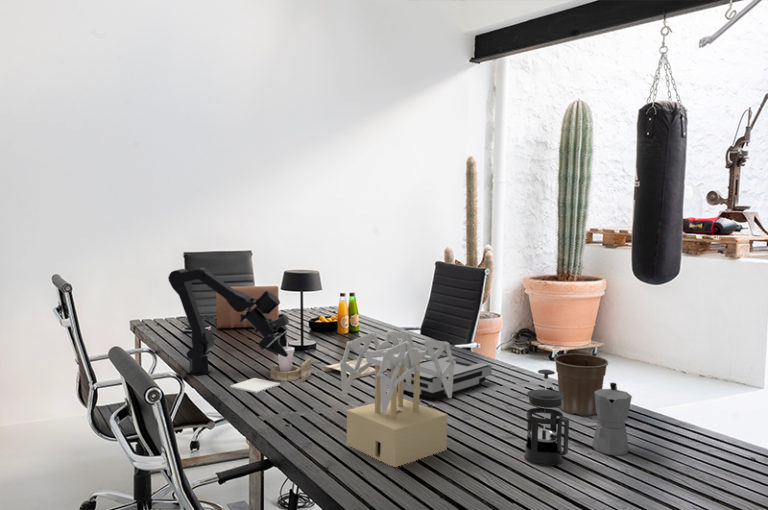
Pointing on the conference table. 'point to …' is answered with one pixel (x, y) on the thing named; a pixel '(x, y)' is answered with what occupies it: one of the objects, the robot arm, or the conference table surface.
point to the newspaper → (366, 372)
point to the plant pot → (579, 381)
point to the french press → (541, 440)
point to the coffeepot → (611, 421)
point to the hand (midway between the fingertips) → (289, 353)
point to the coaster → (254, 385)
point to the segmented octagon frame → (293, 372)
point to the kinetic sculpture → (396, 400)
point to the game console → (462, 379)
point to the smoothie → (286, 359)
